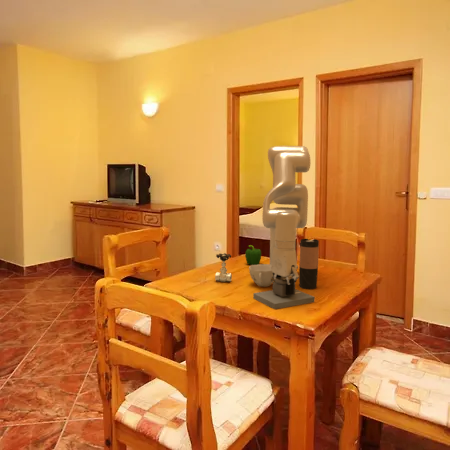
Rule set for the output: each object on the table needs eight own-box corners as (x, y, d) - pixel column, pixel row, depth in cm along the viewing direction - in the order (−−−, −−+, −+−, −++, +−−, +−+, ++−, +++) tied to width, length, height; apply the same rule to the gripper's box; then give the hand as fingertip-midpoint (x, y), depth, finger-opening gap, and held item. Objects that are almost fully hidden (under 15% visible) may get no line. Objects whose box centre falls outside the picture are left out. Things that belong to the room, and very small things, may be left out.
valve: (229, 284, 176) (229, 256, 174) (214, 283, 177) (214, 256, 176) (232, 280, 182) (232, 253, 181) (217, 279, 184) (217, 253, 182)
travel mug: (306, 290, 168) (308, 242, 165) (294, 285, 175) (296, 239, 172) (321, 288, 171) (323, 240, 169) (309, 283, 178) (311, 238, 176)
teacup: (252, 280, 183) (252, 262, 182) (280, 282, 180) (281, 264, 178) (244, 289, 169) (244, 270, 168) (274, 292, 165) (274, 272, 164)
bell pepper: (264, 264, 215) (264, 245, 213) (255, 266, 208) (256, 247, 207) (251, 261, 220) (251, 243, 219) (242, 264, 213) (242, 245, 212)
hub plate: (291, 292, 165) (291, 278, 164) (314, 302, 153) (315, 287, 152) (253, 298, 157) (253, 284, 156) (274, 309, 144) (275, 294, 144)
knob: (281, 296, 150) (282, 281, 149) (271, 292, 156) (271, 277, 155) (296, 294, 153) (296, 279, 152) (285, 290, 159) (286, 275, 158)
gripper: (263, 242, 158) (262, 287, 160) (291, 249, 143) (289, 299, 145) (279, 240, 161) (278, 285, 164) (308, 248, 146) (306, 296, 149)
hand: (283, 291), depth 154 cm, fingers closed on knob, 6 cm apart
